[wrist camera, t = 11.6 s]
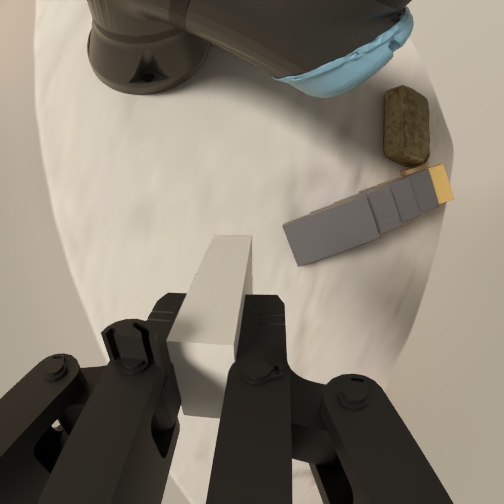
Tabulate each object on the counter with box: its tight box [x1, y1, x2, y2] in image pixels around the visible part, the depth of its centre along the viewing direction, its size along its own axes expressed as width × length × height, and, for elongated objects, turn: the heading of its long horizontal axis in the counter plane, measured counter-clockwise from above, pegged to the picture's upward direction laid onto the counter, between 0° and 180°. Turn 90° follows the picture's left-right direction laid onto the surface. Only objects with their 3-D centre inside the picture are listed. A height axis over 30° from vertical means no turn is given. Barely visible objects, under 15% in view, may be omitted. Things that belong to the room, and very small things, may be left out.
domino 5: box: [378, 164, 454, 204], centre depth 38 cm, size 2×5×10 cm
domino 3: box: [334, 177, 420, 223], centre depth 37 cm, size 2×5×10 cm
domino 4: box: [359, 169, 439, 213], centre depth 38 cm, size 2×5×10 cm
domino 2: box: [310, 185, 402, 234], centre depth 36 cm, size 2×5×10 cm
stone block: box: [384, 85, 430, 167], centre depth 39 cm, size 6×12×5 cm, turn 174°
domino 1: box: [283, 195, 380, 267], centre depth 36 cm, size 2×5×10 cm
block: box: [401, 164, 428, 176], centre depth 41 cm, size 3×6×3 cm, turn 23°
